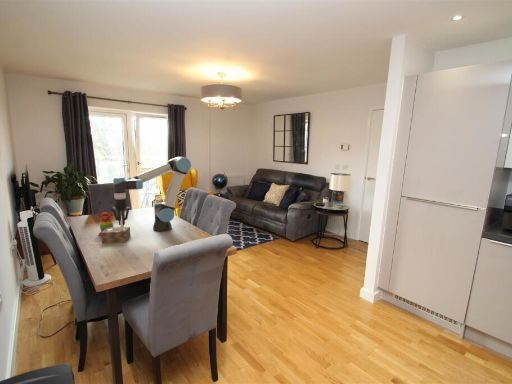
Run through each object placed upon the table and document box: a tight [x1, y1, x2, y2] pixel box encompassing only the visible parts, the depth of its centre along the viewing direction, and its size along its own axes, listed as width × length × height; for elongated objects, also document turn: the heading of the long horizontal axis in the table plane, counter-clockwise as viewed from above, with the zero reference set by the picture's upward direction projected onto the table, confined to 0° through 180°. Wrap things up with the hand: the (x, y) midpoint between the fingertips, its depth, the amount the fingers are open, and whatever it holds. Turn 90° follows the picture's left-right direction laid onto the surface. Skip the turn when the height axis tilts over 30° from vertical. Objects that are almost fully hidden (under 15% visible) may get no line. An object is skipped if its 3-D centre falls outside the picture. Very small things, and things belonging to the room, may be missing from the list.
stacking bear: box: [98, 211, 114, 237], centre depth 210 cm, size 11×10×18 cm
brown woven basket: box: [100, 226, 131, 244], centre depth 198 cm, size 16×12×8 cm
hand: (122, 228), depth 198 cm, fingers closed
